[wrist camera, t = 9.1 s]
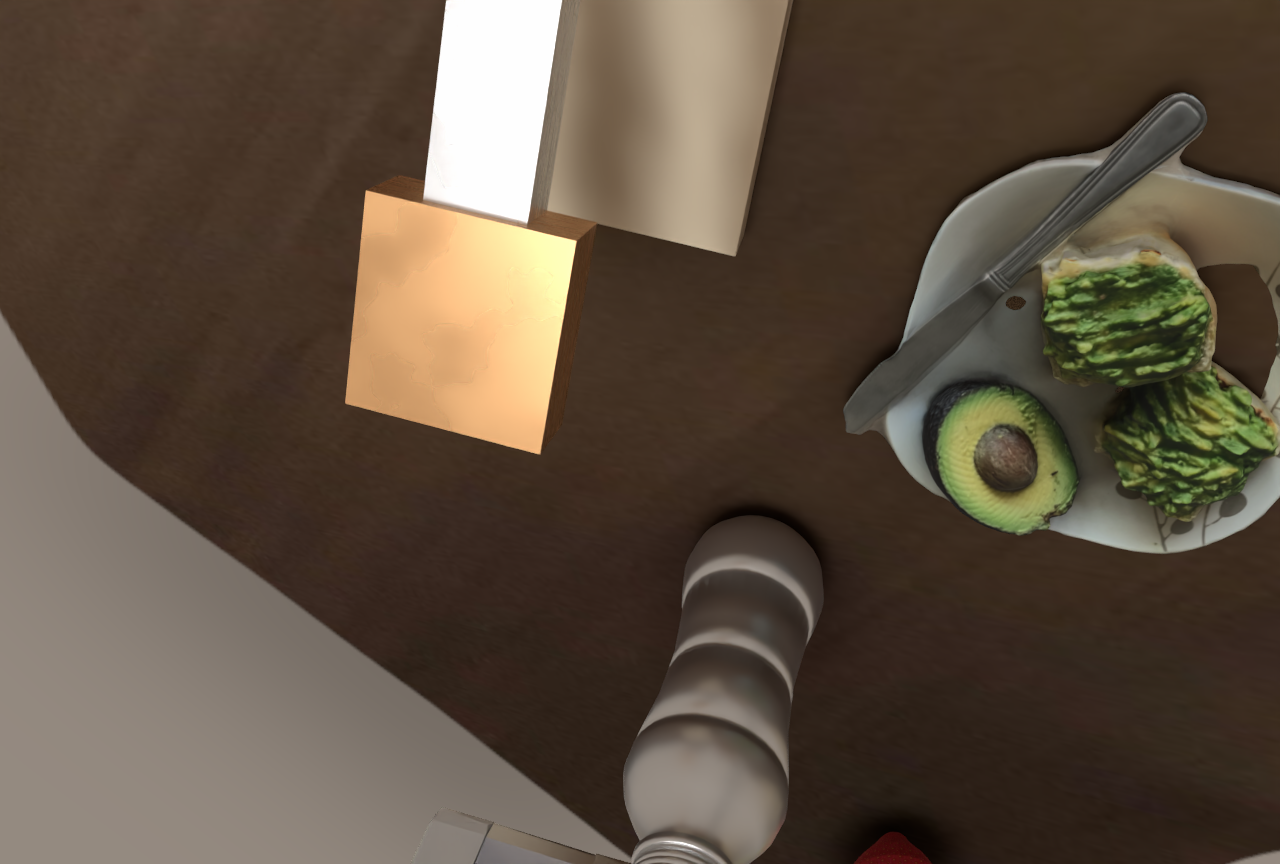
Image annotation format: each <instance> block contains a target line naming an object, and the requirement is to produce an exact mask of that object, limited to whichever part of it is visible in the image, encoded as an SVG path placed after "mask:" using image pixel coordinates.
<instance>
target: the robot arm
mask: <svg viewBox="0 0 1280 864" xmlns="http://www.w3.org/2000/svg"><path fill="white" fill-rule="evenodd" d="M411 864H632V863H628V862H624V861H621V860H617V859H613V858H610V857H607V856H603V855H600V854H596V855H594V854H591V853H588V852H584V851H582V850H578V849H575V848H572V847H569V846H565V845H562V844H559V843H556V842H553V841H550V840H546V839H543V838H540V837H536V836H533V835H530V834H527V833H524V832H521V831H517V830H514V829H511V828H508V827H505V826H502V825H498V824H495V823H494V822H491V821H488V820H484V819H481V818H478V817H474V816H471V815H468V814H464V813H460V812H457V811H454V810H451V809H447V808H444V807H441V808H440V810H439V811H438V812H437V814H436V815H435V816H434V818H433V819H432V820H431V822H430V823H429V825H428V827H427V829H426V832H425V834H424V836H423V838H422V840H421V842H420V844H419V846H418V849H417V851H416V853H415V855H414V857H413V859H412V861H411Z"/></svg>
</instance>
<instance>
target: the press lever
mask: <svg viewBox="0 0 1280 864" xmlns="http://www.w3.org/2000/svg"><path fill="white" fill-rule="evenodd" d="M579 7H580V0H446V8H445V17H444V25H443V34H442V42H441V51H440V59H439V68H438V77H437V85H436V94H435V102H434V111H433V120H432V128H431V137H430V145H429V154H428V162H427V171H426V180H425V181H422V180H418V179H414V178H409V177H405V176H401V175H399V176H397V177H394V178H392V179H390V180H388V181H386V182H383V183H381V184H379V185H377V186H375V187H372V188H370V189H368V190H366V195H365V206H364V216H363V226H362V237H361V247H360V257H359V268H358V278H357V288H356V298H355V309H354V319H353V329H352V340H351V350H350V360H349V371H348V381H347V391H346V402H345V403H346V404H350V405H353V406H357V407H361V408H365V409H369V410H372V411H376V412H380V413H384V414H388V415H391V416H395V417H399V418H403V419H407V420H410V421H414V422H418V423H422V424H426V425H429V426H433V427H437V428H441V429H445V430H449V431H452V432H456V433H460V434H464V435H468V436H471V437H475V438H479V439H483V440H487V441H490V442H494V443H498V444H502V445H506V446H509V447H513V448H517V449H521V450H525V451H528V452H532V453H536V454H541V453H542V451H543V450H544V448H545V447H546V446H547V444H548V443H549V442H550V440H551V439H552V437H553V436H554V435H555V433H556V432H557V431H558V429H559V428H560V426H561V425H562V420H563V415H564V409H565V403H566V398H567V392H568V386H569V381H570V375H571V369H572V364H573V358H574V352H575V347H576V341H577V335H578V330H579V324H580V318H581V313H582V307H583V301H584V296H585V290H586V284H587V279H588V273H589V267H590V262H591V256H592V250H593V245H594V239H595V233H596V228H597V222H594V221H589V220H585V219H581V218H577V217H573V216H568V215H564V214H560V213H556V212H552V211H548V210H547V208H548V202H549V196H550V190H551V183H552V177H553V171H554V164H555V158H556V152H557V145H558V139H559V133H560V127H561V120H562V114H563V108H564V101H565V95H566V89H567V82H568V76H569V70H570V63H571V57H572V51H573V45H574V38H575V32H576V26H577V19H578V13H579Z"/></svg>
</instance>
